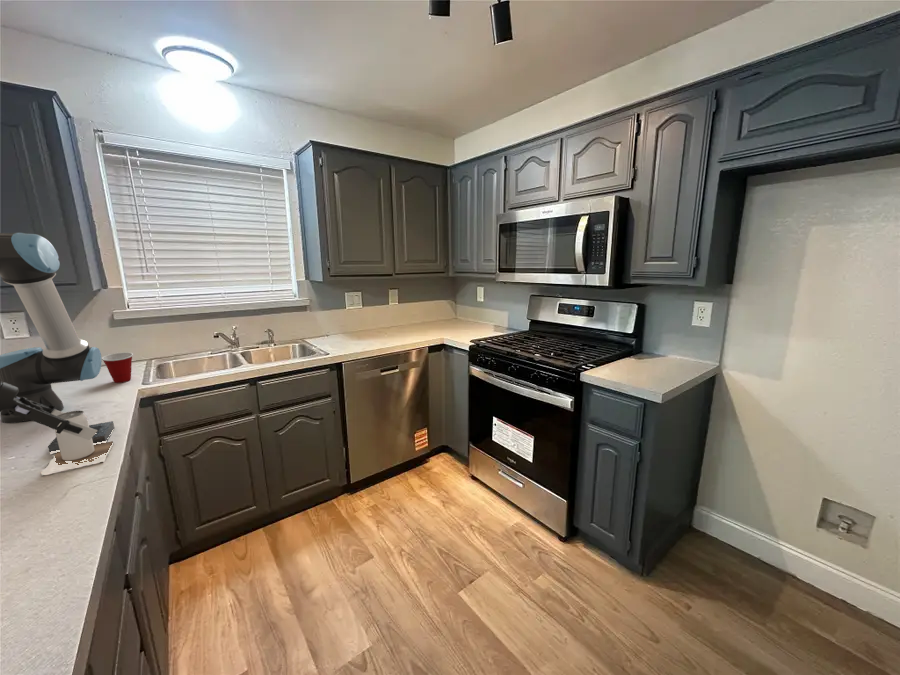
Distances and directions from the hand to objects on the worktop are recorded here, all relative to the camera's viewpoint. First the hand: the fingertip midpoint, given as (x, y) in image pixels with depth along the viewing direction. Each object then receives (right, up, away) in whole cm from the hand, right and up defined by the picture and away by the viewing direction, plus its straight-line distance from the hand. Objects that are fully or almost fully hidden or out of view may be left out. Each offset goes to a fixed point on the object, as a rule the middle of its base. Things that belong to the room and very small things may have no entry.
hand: (85, 429), depth 104 cm
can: (-1, -7, 0) cm, 8 cm away
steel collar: (-10, -6, +10) cm, 16 cm away
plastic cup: (-46, +6, +66) cm, 81 cm away
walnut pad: (-1, -8, 0) cm, 8 cm away
